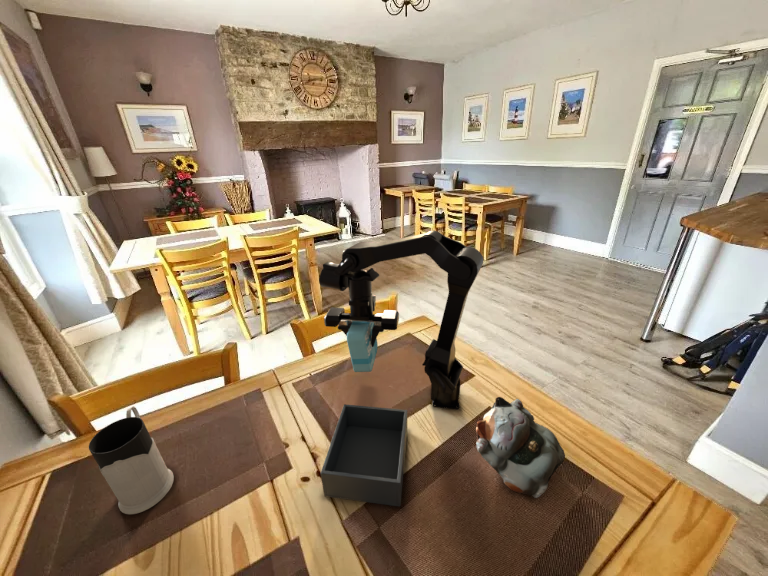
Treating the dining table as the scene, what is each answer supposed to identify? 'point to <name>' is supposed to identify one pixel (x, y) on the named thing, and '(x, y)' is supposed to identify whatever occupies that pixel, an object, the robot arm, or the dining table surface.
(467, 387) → the dining table surface
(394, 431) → the dark grey open box
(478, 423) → the lucky cat figurine
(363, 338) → the light blue flat block
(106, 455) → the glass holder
